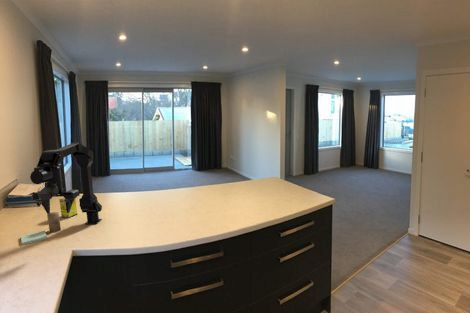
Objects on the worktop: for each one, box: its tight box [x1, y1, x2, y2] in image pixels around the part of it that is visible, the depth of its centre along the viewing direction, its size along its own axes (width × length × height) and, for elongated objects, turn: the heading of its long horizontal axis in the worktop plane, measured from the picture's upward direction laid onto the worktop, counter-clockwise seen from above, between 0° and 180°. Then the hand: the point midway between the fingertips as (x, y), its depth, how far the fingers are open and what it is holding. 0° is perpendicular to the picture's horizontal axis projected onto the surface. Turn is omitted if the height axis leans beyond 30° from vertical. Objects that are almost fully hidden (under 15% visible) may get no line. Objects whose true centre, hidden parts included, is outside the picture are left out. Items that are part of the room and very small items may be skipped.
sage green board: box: [20, 230, 48, 246], centre depth 149 cm, size 10×10×1 cm
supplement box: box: [58, 196, 78, 219], centre depth 178 cm, size 6×6×11 cm
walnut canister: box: [46, 211, 62, 233], centre depth 157 cm, size 5×5×9 cm
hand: (58, 213), depth 138 cm, fingers open, 9 cm apart
